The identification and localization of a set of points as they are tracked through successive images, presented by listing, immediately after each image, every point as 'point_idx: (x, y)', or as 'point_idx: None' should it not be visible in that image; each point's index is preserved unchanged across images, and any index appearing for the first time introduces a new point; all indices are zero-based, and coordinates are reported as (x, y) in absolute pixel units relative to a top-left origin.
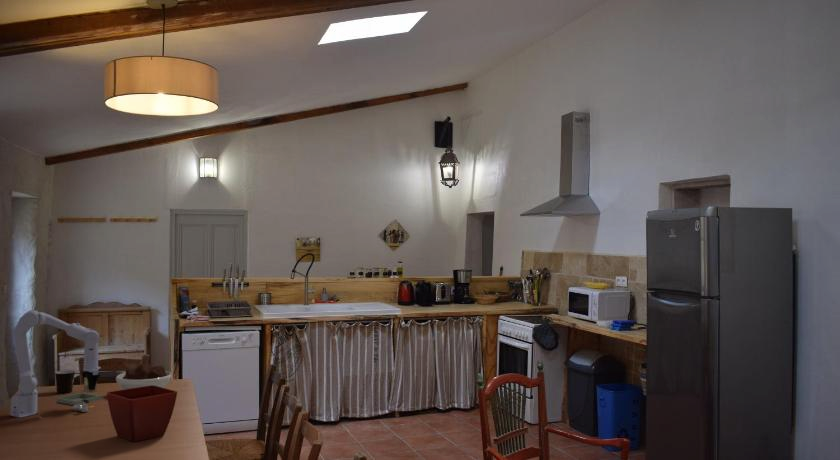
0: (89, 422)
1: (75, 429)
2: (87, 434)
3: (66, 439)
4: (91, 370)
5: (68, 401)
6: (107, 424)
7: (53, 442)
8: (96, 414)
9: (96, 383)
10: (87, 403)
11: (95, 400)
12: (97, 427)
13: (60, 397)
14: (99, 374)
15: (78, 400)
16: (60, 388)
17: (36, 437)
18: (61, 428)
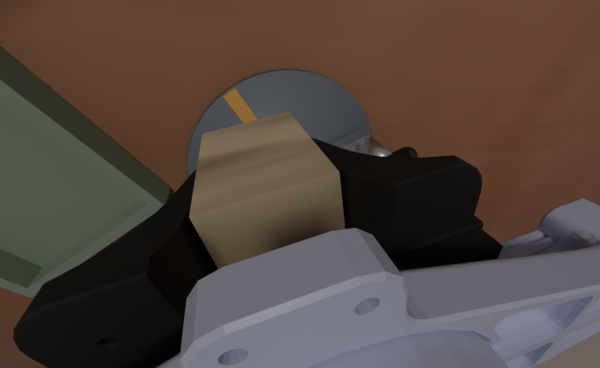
0: (486, 120)
1: (523, 161)
2: (597, 128)
3: (580, 176)
4: (564, 341)
5: (118, 234)
6: (568, 53)
7: (572, 199)
8: (385, 86)
9: (313, 143)
10: (389, 150)
11: (19, 73)
12: (566, 95)
13: (7, 287)
14: (478, 171)
15: (132, 192)
16: None
17: (505, 235)
18: (480, 197)
